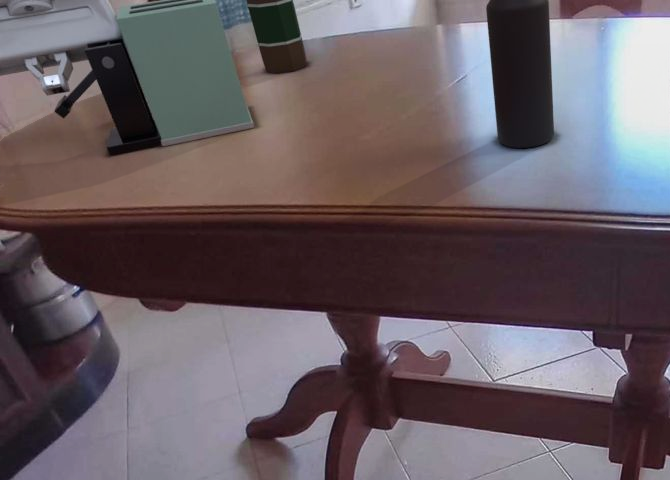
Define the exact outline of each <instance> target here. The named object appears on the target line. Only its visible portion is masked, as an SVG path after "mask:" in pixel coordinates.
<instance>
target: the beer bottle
mask: <svg viewBox="0 0 670 480" xmlns="http://www.w3.org/2000/svg"><path fill="white" fill-rule="evenodd" d="M245 1H246V4H247V9H248V12H249V15H250V19H251V24H252V27H253V31H254V34H255V38H256V42H257V46H258V50H259V52H260V57H261V60H262V63H263V66H264V69H265V71H266V72H267V73H271V74H283V73H292V72H296V71H298V70H301V69H304V68H306V66H307V55H306V50H305V45H304V40H303V37H302V33H301V29H300V24H299V19H298V16H297V12H296V7H295V3H294V0H245Z"/></svg>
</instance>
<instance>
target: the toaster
mask: <svg viewBox="0 0 670 480" xmlns="http://www.w3.org/2000/svg"><path fill="white" fill-rule="evenodd" d="M116 20H117V23H118V25H119V28H120V30H121V33H122V36H123V38H124V41H125V44H126V46H127V50H128V53H129V55H130V58H131V61H132V63H133V66H134V69H135V71H136V74H137V77H138V79H139V82H140V84H141V87H142V90H143V92H144V95H145V98H146V100H147V103H148V106H149V108H150V111H151V113H152V116H153V119H154V120H155V123H156V126H157V128H158V131H159V134H160V136H161V144H162V145H161V146H162V147H167V146H168V147H169V146H172V145H173V146H174V145H178V144H182V143H187V142H193V141H197V140H203V139H207V138H212V137H215V136H221V135H226V134H231V133H235V132H240V131H245V130H250V129H254V128H255V125H254V120H253V118H252V115H251V113H250V109H249V107H248V104H247V102H246V99H245V95H244V93H243V89H242V85H241V83H240V79H239V76H238V72H237V68H236V65H235V62H234V59H233V55H232V52H231V49H230V44H229V41H228V39H227V35H226V31H225V28H224V24H223V22H222V21H223V20H222V18H221V15H220V12H219V8H218V5H217V1H216V0H154V1H148V2H143V3H137V4H129V5H124V6H120V7H119V9H118V13H117V19H116Z"/></svg>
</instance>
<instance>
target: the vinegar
mask: <svg viewBox="0 0 670 480" xmlns="http://www.w3.org/2000/svg"><path fill="white" fill-rule="evenodd" d="M485 10H486V22H487V34H488V45H489V56H490V67H491V79H492V88H493V100H494V111H495V122H496V134H497V135H496V136H497V139H498V142H499V143H500V144H501V145H504V146H505V147H508V148H514V149H526V148H527V149H529V148H533V147H540V146H542V145H545V144H546V143H549V142H550V141H551V140H552V139H553V138H554V135H555V121H554V119H555V118H554V97H553V96H554V94H553V73H552V72H553V71H552V70H553V69H552V49H551V48H552V47H551V46H552V45H551V25H550V24H551V22H550V2H549V0H489V1H488V2H487V4H486V7H485Z"/></svg>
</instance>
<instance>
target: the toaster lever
mask: <svg viewBox="0 0 670 480" xmlns="http://www.w3.org/2000/svg"><path fill="white" fill-rule="evenodd" d="M106 45H111V43H110V42H108V43H107V44H106ZM96 81H97V80H96V78H95V75H94V73H93V70H92V69H91V70H90V71H89V72H88V73H87V74H86V76H85V77H83V78H82V80H81V81H80V82H79V83H78V84H77V85H76V86H75V87H74V88H73V90H72V91H70V92H69V94H68V95H66V94H64V95H63V96H62V97H61V98H60V100H59V101H58V102H57V104H56V106H55V108H54V111H53V112H54V113H55V114H56V115H58V116H59V117H60V118H62V119H63V120H64V119H65V118H66V117H67V116H68V115H69V114H70V113H71V111H72V108H73V106H74V104H76V102H77V101H78V100H79V99H80V98H81V97H82V95H84V93H85V92H86V91H87V90H88V89H89V88H90V87H91V86H92V85H93V84H94V83H95V82H96Z"/></svg>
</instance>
